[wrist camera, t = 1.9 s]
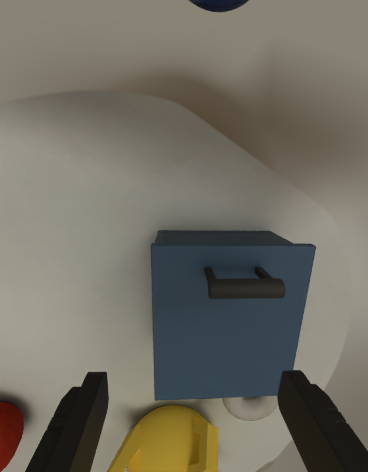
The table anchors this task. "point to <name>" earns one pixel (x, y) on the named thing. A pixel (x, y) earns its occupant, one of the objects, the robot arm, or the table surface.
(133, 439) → the teapot
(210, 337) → the cool box lid
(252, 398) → the donut
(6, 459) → the fruit
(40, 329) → the table surface
